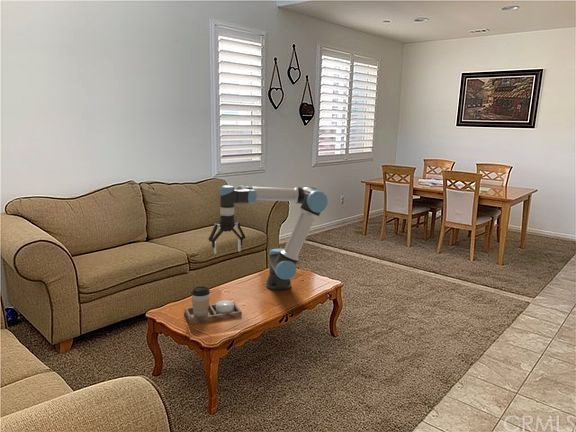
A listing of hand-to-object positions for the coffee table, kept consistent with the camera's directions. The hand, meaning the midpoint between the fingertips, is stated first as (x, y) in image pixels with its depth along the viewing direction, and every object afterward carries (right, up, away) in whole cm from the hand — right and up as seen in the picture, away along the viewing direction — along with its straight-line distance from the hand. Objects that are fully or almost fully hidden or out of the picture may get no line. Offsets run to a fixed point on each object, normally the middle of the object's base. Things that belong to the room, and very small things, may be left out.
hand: (227, 252), depth 242 cm
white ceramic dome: (+1, -30, -16) cm, 34 cm away
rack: (-5, -31, -18) cm, 36 cm away
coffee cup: (-10, -31, -21) cm, 38 cm away
